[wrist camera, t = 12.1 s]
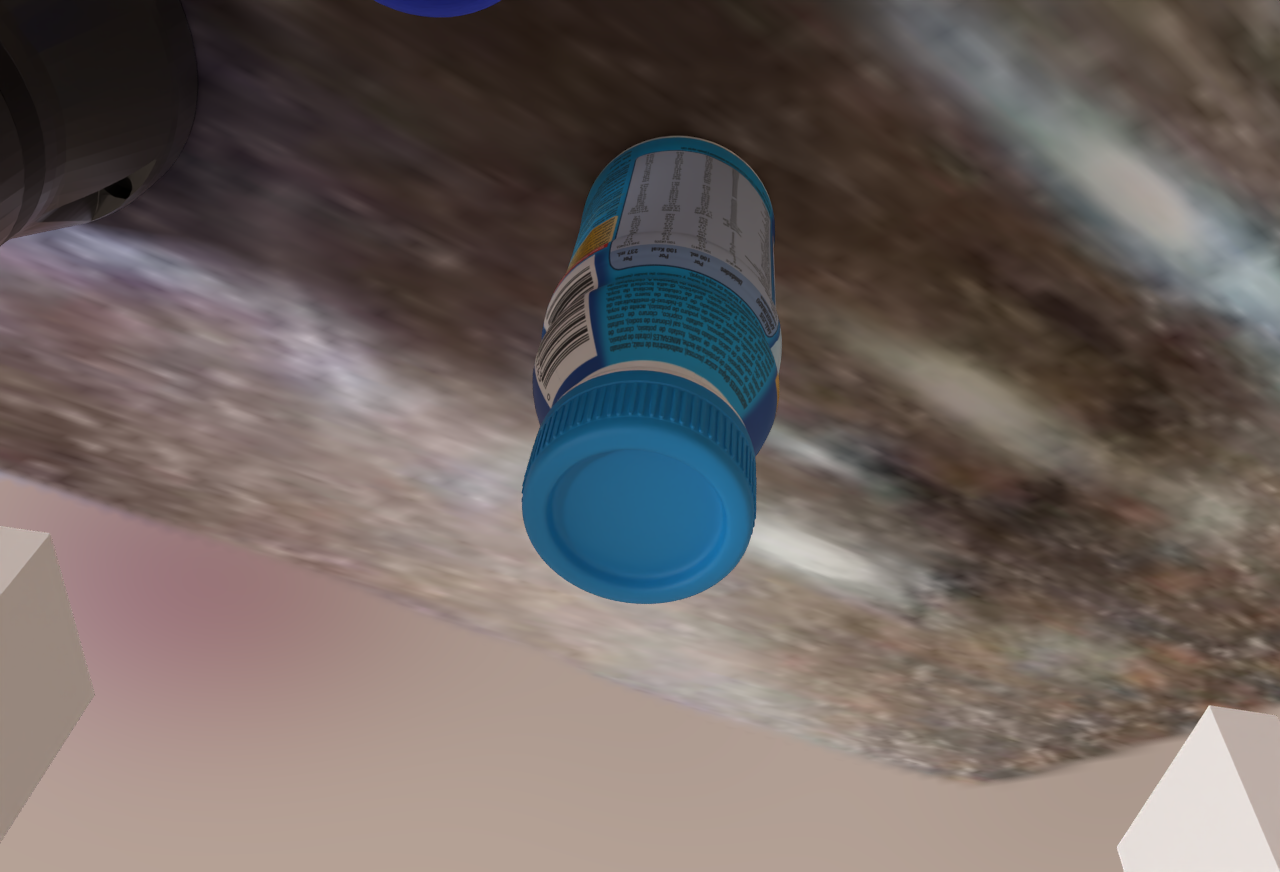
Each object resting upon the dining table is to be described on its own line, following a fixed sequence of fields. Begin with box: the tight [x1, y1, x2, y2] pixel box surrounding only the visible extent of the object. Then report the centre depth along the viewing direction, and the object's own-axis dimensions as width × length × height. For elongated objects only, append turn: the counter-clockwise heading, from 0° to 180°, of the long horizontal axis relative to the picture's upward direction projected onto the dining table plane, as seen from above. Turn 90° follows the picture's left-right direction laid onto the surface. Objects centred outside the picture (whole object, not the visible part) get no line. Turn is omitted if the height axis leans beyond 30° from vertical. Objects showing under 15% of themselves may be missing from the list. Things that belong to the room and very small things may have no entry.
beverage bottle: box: [522, 136, 782, 604], centre depth 39 cm, size 8×8×20 cm
